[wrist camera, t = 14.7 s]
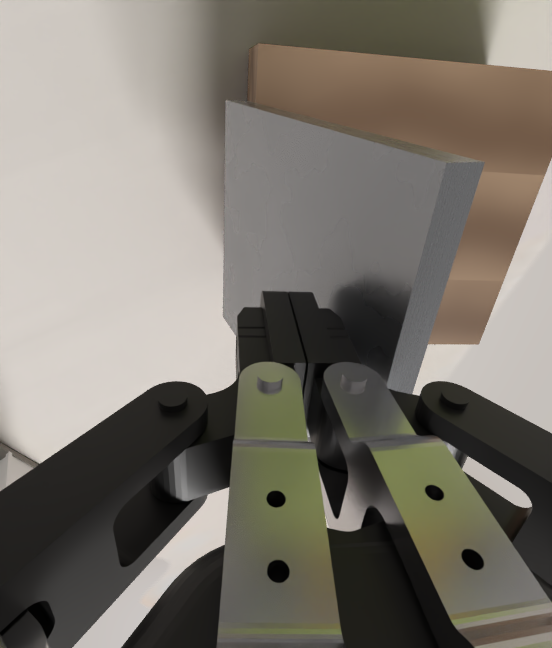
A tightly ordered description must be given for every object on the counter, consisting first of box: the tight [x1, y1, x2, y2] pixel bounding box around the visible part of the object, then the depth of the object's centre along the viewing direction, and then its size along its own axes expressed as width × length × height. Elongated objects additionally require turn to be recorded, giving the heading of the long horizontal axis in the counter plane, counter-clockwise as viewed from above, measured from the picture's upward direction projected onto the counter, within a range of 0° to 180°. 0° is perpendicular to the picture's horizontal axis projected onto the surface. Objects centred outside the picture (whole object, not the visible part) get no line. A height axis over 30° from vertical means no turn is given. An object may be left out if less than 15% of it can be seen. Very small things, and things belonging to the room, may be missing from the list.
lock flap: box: [223, 100, 485, 442], centre depth 15 cm, size 12×10×1 cm
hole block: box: [247, 43, 552, 344], centre depth 24 cm, size 14×14×8 cm
